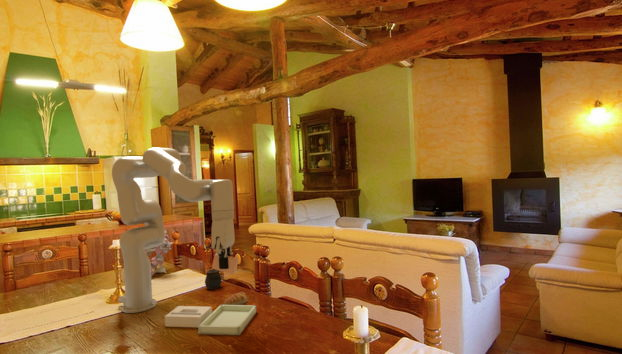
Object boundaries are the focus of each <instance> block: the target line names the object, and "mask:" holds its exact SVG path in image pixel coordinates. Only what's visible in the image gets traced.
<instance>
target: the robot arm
mask: <svg viewBox="0 0 622 354" xmlns="http://www.w3.org/2000/svg"><path fill="white" fill-rule="evenodd" d="M186 170H187V166H186V164H185V163H184V162H183V161H182V158H181V154H180V153H179V151H177V149H174V148H171V147H151V148H147V149H146V150H145V151H144V152H143V154H142V156H132V155H131V156H124V157H119V158H118V159H117V160H115V162H114V163H113V164H112V168H111V179H112V181H113V182H112V183H113V184H114V188H115V190H116V194H117V195H116V196H117V203H118V208H119V209H118V210H119V217H120V220H121V222H122V224H124V225H127V226H132V225H134V226H135V225H140V224H144V226H140V227H139V226H138V227H133V228H130V229H126V231H124V232H123V233H122V234H121V235H120V238H119V246H120V250H121V254H122V261H123V273H124V274H123V275H124V276H123V277H124V293H125V295H120V296H119V297H118V299H117V303H118V304H119V303H122V306H121V312H123V313H125V314H136V313H143V312H145V311H148V310H151V309H153V308H155V307H156V306H157V303H158V302H157V299H155V298H153V286H152V284H153V283H152V276H151V272H152V271H151V263H150V261H151V258H150V256H148V255H147V254H146V253H145V251H146V250H147V249H151V248H155V247H158V246H160V245H161V244H162V243H163V242H164V239H165V235H166V233H165V231H164V230H165V226H164V224H165V223H164V218H163V211H162V208H161V205H160V204H159V203H158V202H157V201H156V200H155V199H149V198H148V199H143V196H142V190H141V187H140V185H139V183H137V181H135V179H137V178H138V179H139V178H141V179H142V178H144V179H145V178H154V177H158V176H160V177H162V178H164V179H165V180H167V184H168V186H169V188H170V190H171V191H172V193H174V194H175V195H176V196H178V197H179V198H181V199H182V200H184V201H186V202H189V203H197V202H198V203H199V202H202V201H203V202H205V201H211V202H210V205H211V206H210V207H211V208H210V209H211V220H212V223H211V235H210V236H211V238H210V239H211V249H212V250H215V254H218V258H219V269H228V268H229V266H228V257H227V256H231V257H232V253H233V251H232V247H233V245H234V244H235V241H236V240H235V239H236V238H235V235H236V234H235V225H234V224H235V223H234V219H235V205H234V204H235V203H234V186H233V185H234V184H233V181H232V180H231V179H227V178H226V179H222V178H221V179H190V178H189V177H188V176H186V172H187V171H186Z"/></svg>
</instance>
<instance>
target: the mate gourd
mask: <svg viewBox="0 0 622 354" xmlns="http://www.w3.org/2000/svg"><path fill="white" fill-rule="evenodd" d="M204 285H205V287H206V288H207V289H209V290H216V289H219V288H220V286H221V285H222V276H221V274H220V271H219V270H216V269H213V268H211V269H208V270H207V271H206V276H205V280H204Z"/></svg>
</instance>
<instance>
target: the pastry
mask: <svg viewBox="0 0 622 354" xmlns="http://www.w3.org/2000/svg"><path fill="white" fill-rule="evenodd" d="M247 302H248V297H247V295H246V293H245V292H243V291H240V292H236V293H234V294H231V295H230V296H229V297H227V298H226V299H224V300H223V302H222V305H245V304H246V303H247Z"/></svg>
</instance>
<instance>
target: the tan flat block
mask: <svg viewBox="0 0 622 354" xmlns="http://www.w3.org/2000/svg"><path fill="white" fill-rule="evenodd" d="M213 255H214V257H213V261H212V265H211V269H216V270H219V272H223V273H227V274H230V275H235V274H236V272H237V268H238V263H239V260H240V258H238V257H234V256H232V255H231V256H227V257H228V266H229V268H228V269H219V258H218V254H216V253H215V254H213Z"/></svg>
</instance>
